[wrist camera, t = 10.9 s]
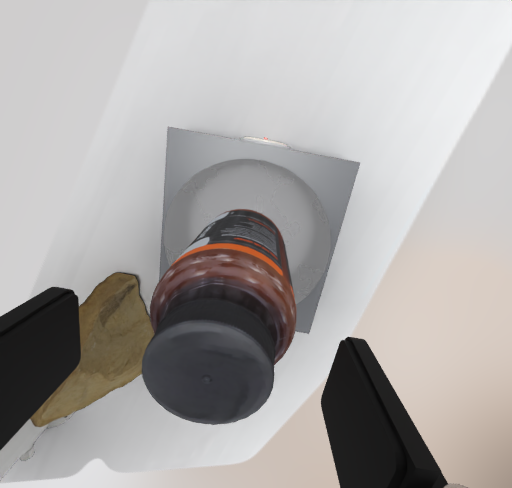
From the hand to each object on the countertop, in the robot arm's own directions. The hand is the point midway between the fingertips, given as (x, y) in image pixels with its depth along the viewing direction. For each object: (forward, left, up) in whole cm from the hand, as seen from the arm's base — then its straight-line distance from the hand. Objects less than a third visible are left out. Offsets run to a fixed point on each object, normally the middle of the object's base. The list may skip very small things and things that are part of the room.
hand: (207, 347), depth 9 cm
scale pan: (0, 0, -11) cm, 11 cm away
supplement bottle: (0, 0, -10) cm, 10 cm away
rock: (-12, +10, -15) cm, 21 cm away
